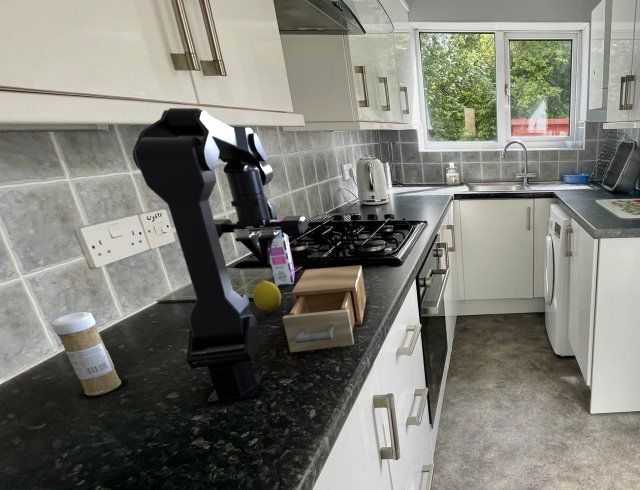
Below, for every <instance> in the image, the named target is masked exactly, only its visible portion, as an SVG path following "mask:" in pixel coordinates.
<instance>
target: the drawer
mask: <svg viewBox="0 0 640 490" xmlns="http://www.w3.org/2000/svg"><path fill="white" fill-rule="evenodd" d="M355 317H356V312H355V306H354V300H353V294H352V291H342V292H331V293H320V294H309V295H300V296H299V298H298V300H297V302H296V303H295V305H294V304H293V306H292V308H291V310H290V312H289V314H287V315H286V314H285V315H283V316H282V322H283V327H284V331H285V335H286V339H287V344H288V348H289V353H298V352H305V351H313V350H323V349H330V348H338V347H346V346H347V347H348V346H353V345H354V343H355V339H354V334H353V330H354V326H355V325H354V321H355Z"/></svg>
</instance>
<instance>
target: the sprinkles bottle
mask: <svg viewBox="0 0 640 490" xmlns="http://www.w3.org/2000/svg"><path fill="white" fill-rule="evenodd" d="M50 325H51V328H52V330H53V331H54V334H55V335H57V337H58V338H59V340H60V342H61V344H62V346H63V348H64V352H65V353H66V356H67V357H68V360H69V362H70V364H71V365H72V368H73V370H74V372H75V374H76V376H77V379H79V381H80V383H81V386H82V388H83V390H84V394H85V395H86V396H88V397H90V396H91V397H92V396H95V397H96V396H100V395H105V394H108V393H109V392H112V391H114V390H116V389H117V388H118V387H120V386H121V384H122V380H121V379H120V378H119V376H118V373H117V370H116V369H115V365H114V363H113V361H112V359H111V356H110V354H109V352H108V349H107V348H106V346H105V343H104V342H103V339H102V336H101V335H100V333H99V331H98V329H97V324H96V320H95V318H94V316H93V314H92V313H91V312H89V311H81V312H80V311H79V312H73V313H69V314H64V315H62V316H60V317H57V318H55V319H54V320H53V321H52V322H51V323H50Z"/></svg>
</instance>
